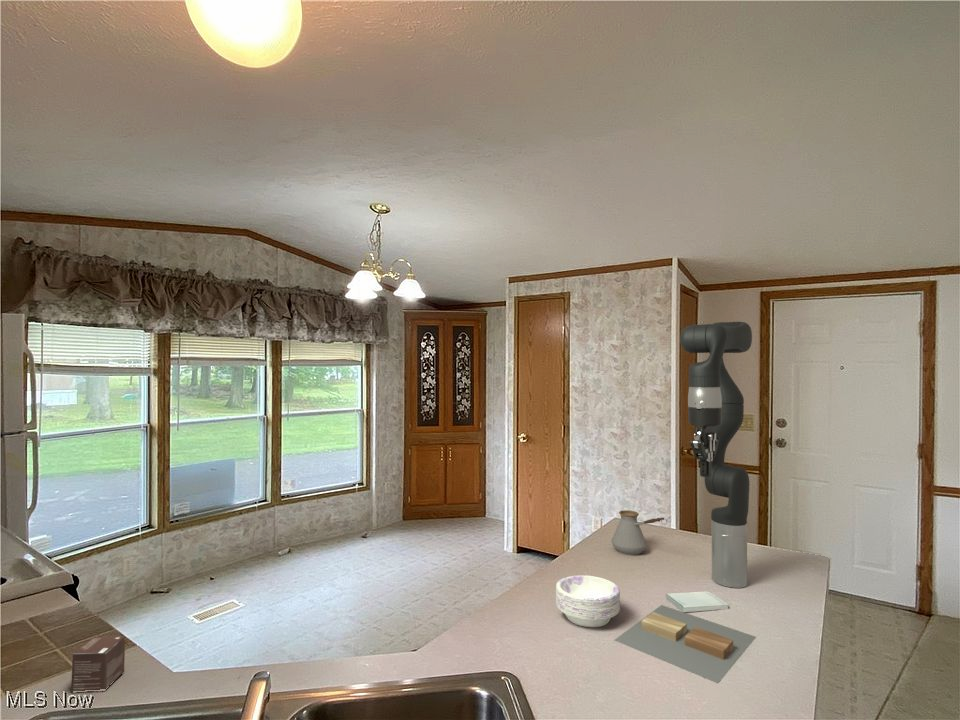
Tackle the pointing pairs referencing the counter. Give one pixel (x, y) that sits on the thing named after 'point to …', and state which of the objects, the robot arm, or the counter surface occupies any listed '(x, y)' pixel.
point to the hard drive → (696, 601)
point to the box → (98, 663)
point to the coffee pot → (630, 533)
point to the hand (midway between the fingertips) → (705, 476)
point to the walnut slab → (709, 643)
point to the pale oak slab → (664, 626)
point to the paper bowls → (588, 600)
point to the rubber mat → (683, 654)
